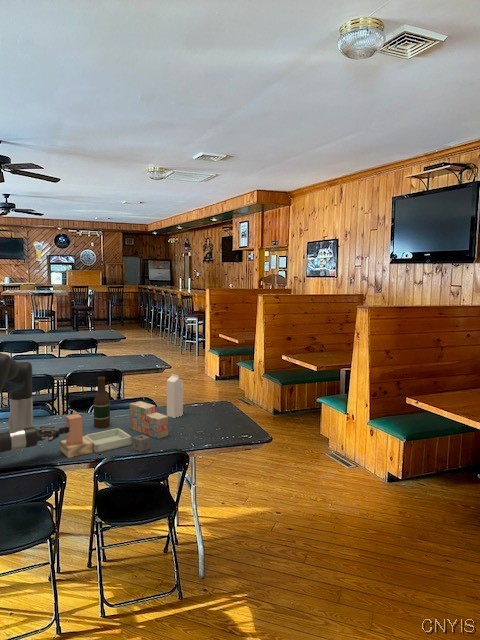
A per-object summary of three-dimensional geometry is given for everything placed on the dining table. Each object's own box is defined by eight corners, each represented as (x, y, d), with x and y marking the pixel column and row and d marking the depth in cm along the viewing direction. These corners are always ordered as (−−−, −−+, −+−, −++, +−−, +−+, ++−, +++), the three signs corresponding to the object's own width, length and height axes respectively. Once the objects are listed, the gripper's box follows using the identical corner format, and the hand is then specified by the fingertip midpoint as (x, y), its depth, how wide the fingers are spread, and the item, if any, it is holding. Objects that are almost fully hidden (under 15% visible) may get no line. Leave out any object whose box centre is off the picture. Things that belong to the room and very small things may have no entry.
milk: (174, 418, 235) (174, 376, 233) (166, 415, 240) (166, 374, 237) (183, 415, 240) (183, 374, 237) (175, 413, 244) (175, 372, 241)
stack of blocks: (168, 435, 211) (168, 409, 209) (157, 439, 206) (157, 412, 205) (140, 425, 225) (140, 400, 224) (129, 428, 220) (129, 403, 219)
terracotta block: (70, 445, 187) (69, 419, 186) (66, 441, 191) (65, 416, 190) (82, 442, 190) (82, 416, 189) (78, 439, 194) (77, 413, 193)
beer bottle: (105, 429, 218) (104, 379, 215) (90, 427, 220) (89, 378, 217) (113, 423, 226) (112, 375, 223) (98, 422, 227) (97, 374, 225)
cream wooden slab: (68, 458, 184) (68, 448, 184) (60, 450, 192) (60, 440, 192) (92, 452, 190) (92, 442, 190) (84, 444, 198) (83, 435, 198)
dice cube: (142, 445, 199) (142, 434, 198) (150, 448, 195) (149, 437, 195) (133, 449, 195) (132, 437, 194) (140, 452, 192) (140, 440, 191)
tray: (96, 453, 189) (96, 445, 189) (83, 443, 200) (83, 435, 200) (132, 444, 199) (132, 436, 199) (118, 435, 210) (118, 427, 210)
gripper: (26, 434, 172) (73, 424, 183) (17, 424, 182) (62, 416, 193) (27, 453, 173) (73, 443, 183) (18, 442, 183) (63, 433, 194)
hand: (68, 429), depth 188 cm, fingers closed
